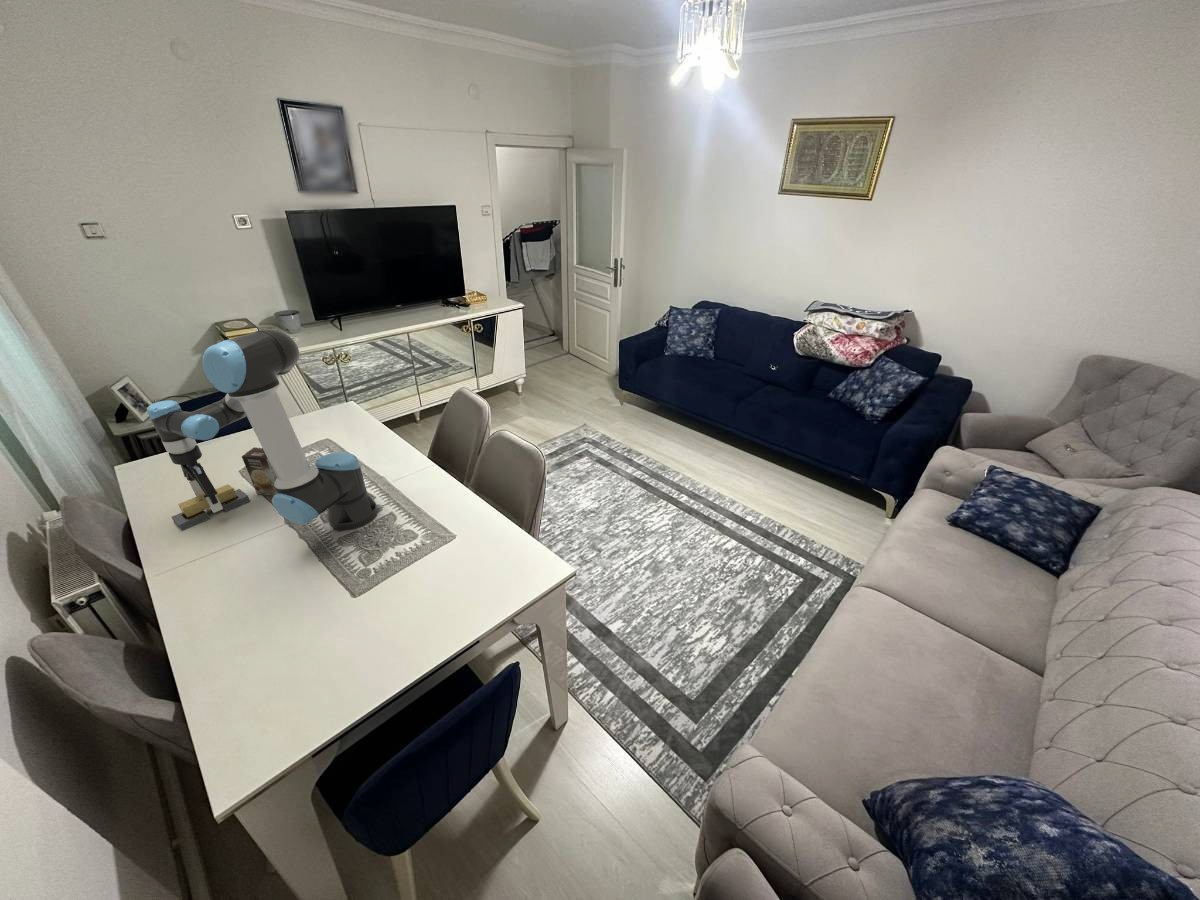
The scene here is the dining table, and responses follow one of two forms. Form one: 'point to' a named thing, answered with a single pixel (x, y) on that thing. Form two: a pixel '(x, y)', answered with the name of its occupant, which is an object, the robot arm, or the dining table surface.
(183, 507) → the tall gold block
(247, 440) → the dining table surface
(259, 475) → the coffee box
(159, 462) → the dining table surface
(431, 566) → the dining table surface
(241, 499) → the silver square rings
